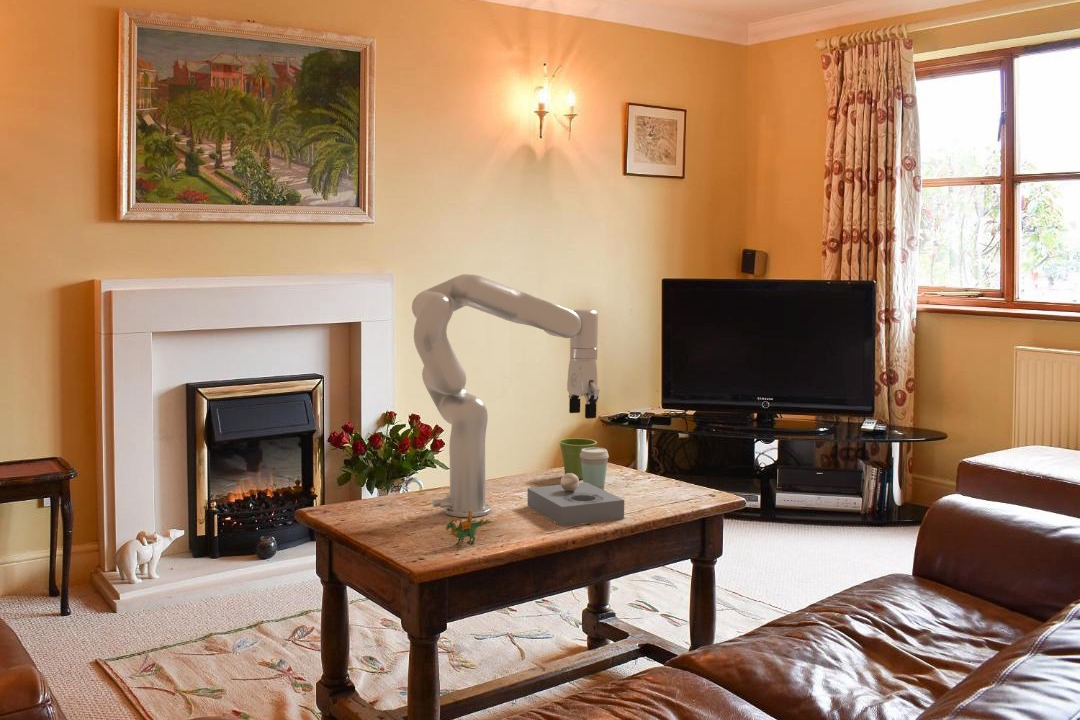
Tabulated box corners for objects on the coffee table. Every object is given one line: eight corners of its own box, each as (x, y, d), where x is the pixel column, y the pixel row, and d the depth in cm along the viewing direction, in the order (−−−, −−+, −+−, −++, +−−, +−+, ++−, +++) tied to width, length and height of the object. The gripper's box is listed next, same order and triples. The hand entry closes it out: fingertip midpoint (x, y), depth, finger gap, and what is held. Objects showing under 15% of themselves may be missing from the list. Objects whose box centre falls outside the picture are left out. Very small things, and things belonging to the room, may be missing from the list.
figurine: (443, 545, 240) (443, 512, 239) (489, 539, 245) (489, 506, 244) (448, 549, 237) (448, 515, 236) (494, 542, 242) (494, 509, 242)
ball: (565, 494, 269) (565, 476, 268) (557, 490, 274) (557, 472, 273) (582, 492, 271) (582, 474, 270) (574, 488, 276) (574, 470, 275)
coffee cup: (609, 487, 299) (609, 447, 297) (608, 494, 290) (608, 453, 289) (580, 486, 299) (580, 446, 298) (578, 493, 291) (578, 452, 290)
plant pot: (585, 483, 303) (585, 446, 302) (551, 478, 309) (551, 442, 308) (603, 475, 314) (603, 440, 312) (569, 471, 319) (569, 436, 318)
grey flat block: (561, 526, 256) (561, 506, 256) (527, 506, 276) (527, 488, 276) (624, 518, 264) (624, 499, 263) (586, 499, 284) (586, 482, 283)
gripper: (558, 351, 285) (557, 411, 287) (585, 357, 269) (584, 421, 271) (581, 351, 288) (580, 410, 290) (610, 356, 273) (609, 419, 274)
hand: (582, 415), depth 281 cm, fingers open, 9 cm apart
